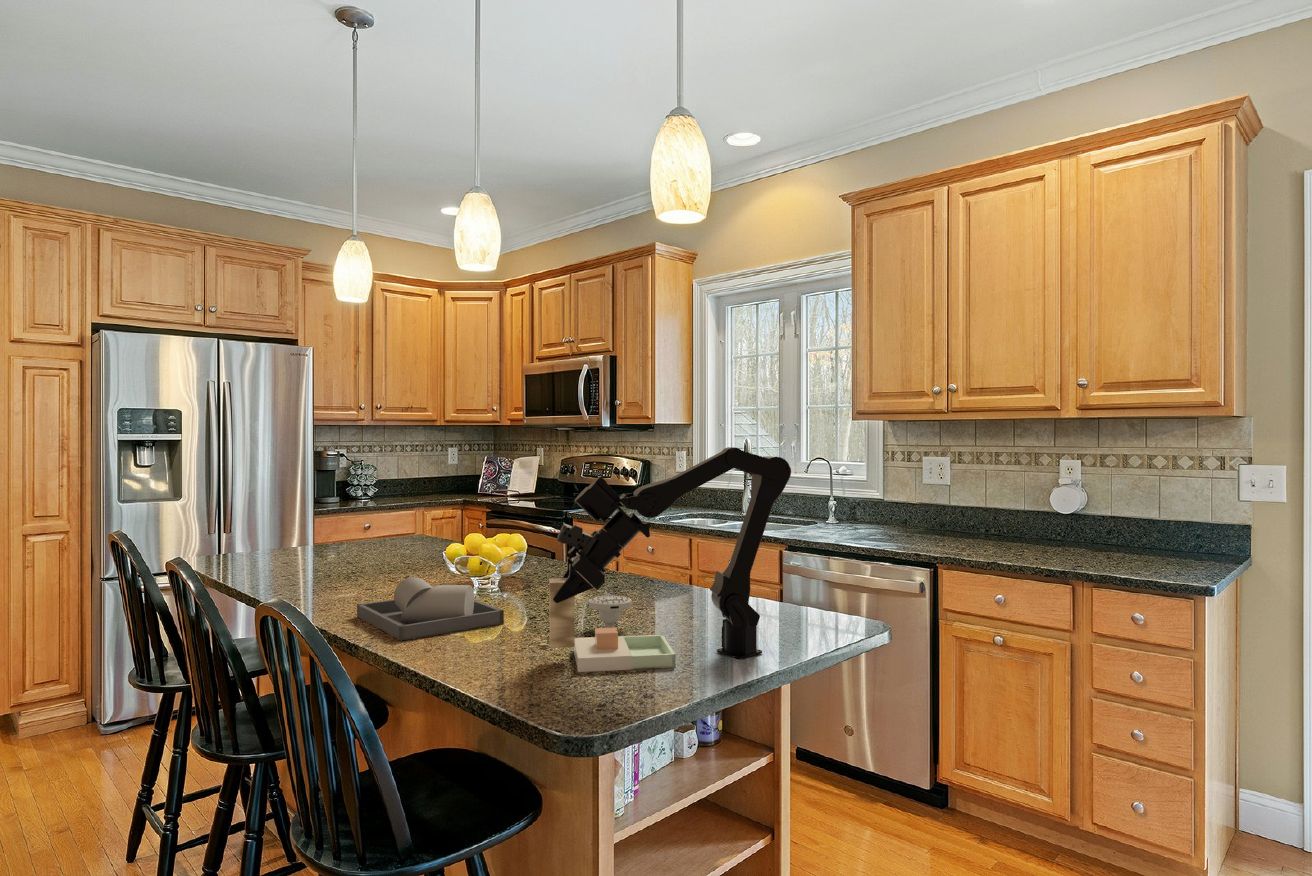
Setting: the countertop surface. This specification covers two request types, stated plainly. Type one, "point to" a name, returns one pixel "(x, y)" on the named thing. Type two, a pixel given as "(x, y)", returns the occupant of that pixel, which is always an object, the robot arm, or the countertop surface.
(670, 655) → the tray
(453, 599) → the elbow connector
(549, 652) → the countertop surface
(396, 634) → the divided desk organizer
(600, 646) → the peach rectangular box
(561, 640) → the block
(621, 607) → the showerhead
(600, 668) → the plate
